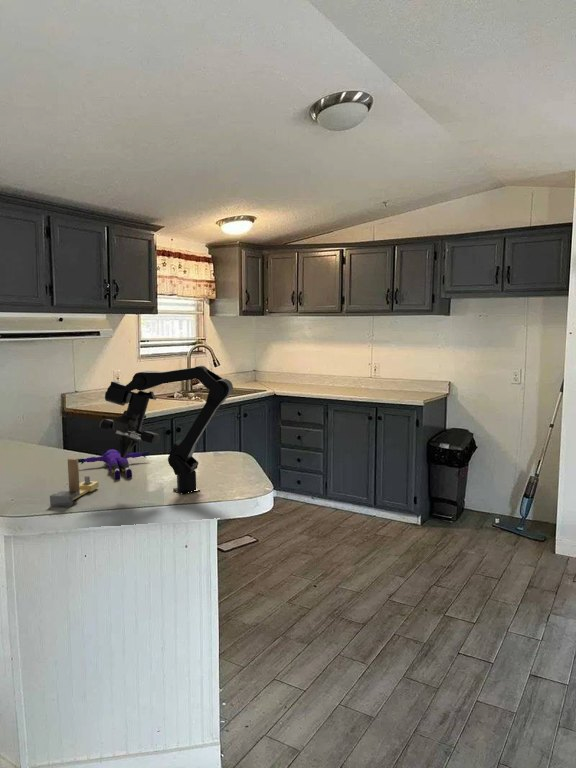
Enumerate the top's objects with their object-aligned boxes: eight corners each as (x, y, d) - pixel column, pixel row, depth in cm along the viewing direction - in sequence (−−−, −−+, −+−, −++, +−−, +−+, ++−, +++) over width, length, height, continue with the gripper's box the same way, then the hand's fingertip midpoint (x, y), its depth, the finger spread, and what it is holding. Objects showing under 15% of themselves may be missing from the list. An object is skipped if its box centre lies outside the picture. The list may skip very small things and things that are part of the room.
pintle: (97, 490, 179) (96, 476, 179) (83, 493, 177) (83, 479, 176) (91, 487, 183) (90, 474, 182) (78, 490, 180) (77, 476, 179)
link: (84, 486, 182) (82, 451, 181) (98, 487, 182) (97, 451, 180) (57, 501, 167) (55, 463, 165) (72, 502, 166) (70, 463, 165)
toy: (162, 476, 199) (146, 457, 226) (162, 461, 198) (145, 444, 225) (81, 486, 187) (74, 465, 214) (81, 470, 187) (73, 451, 214)
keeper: (61, 499, 170) (61, 489, 170) (80, 500, 169) (79, 490, 169) (50, 506, 164) (49, 495, 163) (69, 507, 163) (68, 496, 163)
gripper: (97, 400, 171) (82, 449, 170) (150, 416, 167) (136, 466, 166) (116, 403, 182) (102, 449, 181) (166, 418, 178) (152, 465, 177)
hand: (122, 457), depth 176 cm, fingers closed
